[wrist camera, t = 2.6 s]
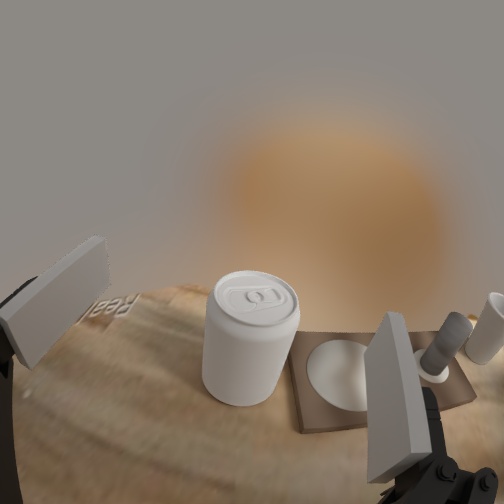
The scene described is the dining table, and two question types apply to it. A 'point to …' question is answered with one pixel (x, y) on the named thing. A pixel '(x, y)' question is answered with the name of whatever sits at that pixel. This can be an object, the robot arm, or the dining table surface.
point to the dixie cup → (487, 331)
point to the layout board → (353, 373)
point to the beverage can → (247, 336)
